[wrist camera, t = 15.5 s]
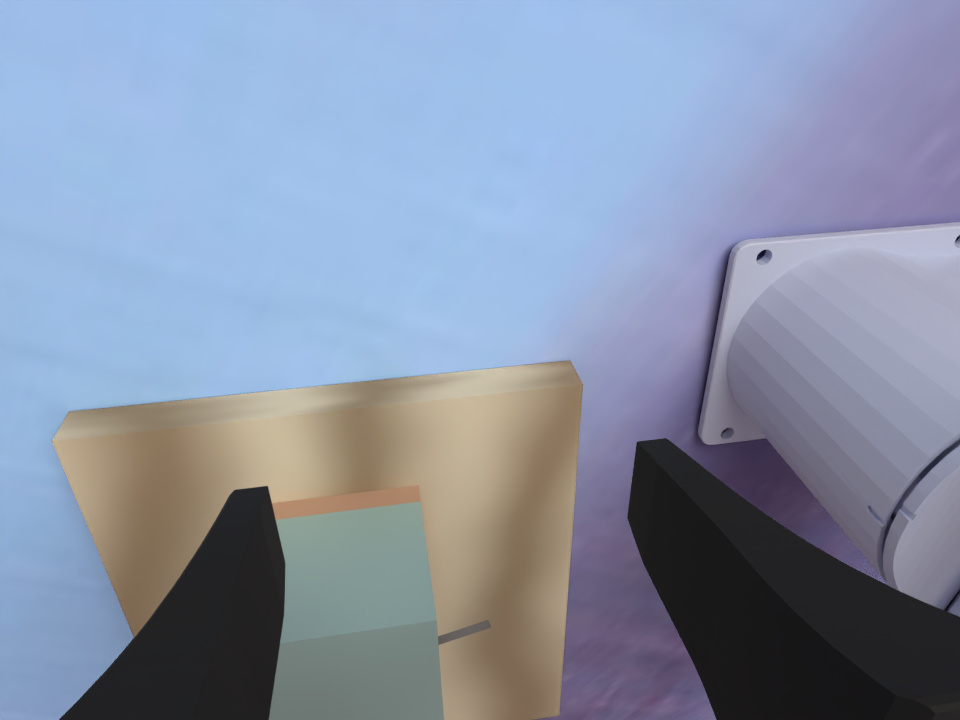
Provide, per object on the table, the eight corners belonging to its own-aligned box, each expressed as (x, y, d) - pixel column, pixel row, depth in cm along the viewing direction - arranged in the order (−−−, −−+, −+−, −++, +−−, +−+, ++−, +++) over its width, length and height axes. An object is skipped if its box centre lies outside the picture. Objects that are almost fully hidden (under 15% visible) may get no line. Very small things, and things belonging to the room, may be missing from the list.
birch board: (570, 360, 24) (582, 384, 23) (550, 685, 33) (559, 715, 32) (68, 411, 22) (51, 441, 21) (198, 743, 31) (192, 777, 30)
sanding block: (418, 485, 24) (437, 620, 19) (432, 655, 28) (449, 796, 24) (265, 504, 23) (246, 648, 18) (305, 675, 28) (298, 824, 23)
